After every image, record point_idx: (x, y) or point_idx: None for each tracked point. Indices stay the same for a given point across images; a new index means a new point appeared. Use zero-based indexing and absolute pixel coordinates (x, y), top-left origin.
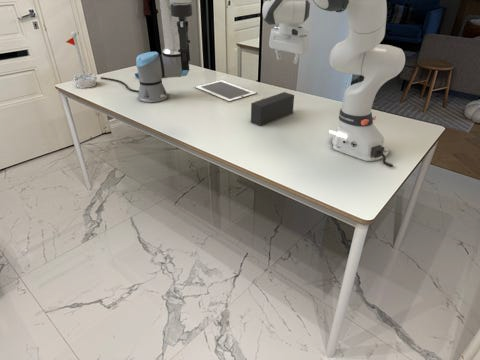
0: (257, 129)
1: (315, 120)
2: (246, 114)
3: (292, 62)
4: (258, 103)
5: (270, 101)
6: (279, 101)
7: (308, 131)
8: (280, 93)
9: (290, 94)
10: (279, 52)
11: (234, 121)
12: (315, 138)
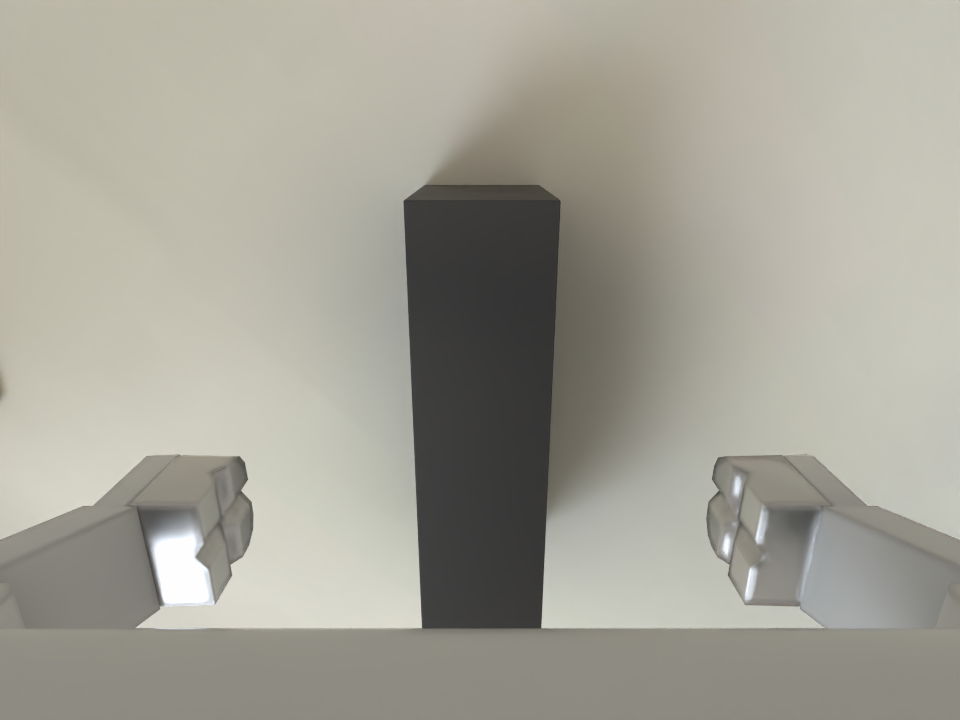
0: (549, 573)
1: (780, 164)
2: (308, 469)
3: (715, 550)
4: (470, 606)
5: (509, 511)
6: (549, 430)
7: (833, 373)
8: (410, 274)
9: (513, 216)
10: (35, 562)
11: (356, 592)
12: (922, 423)
